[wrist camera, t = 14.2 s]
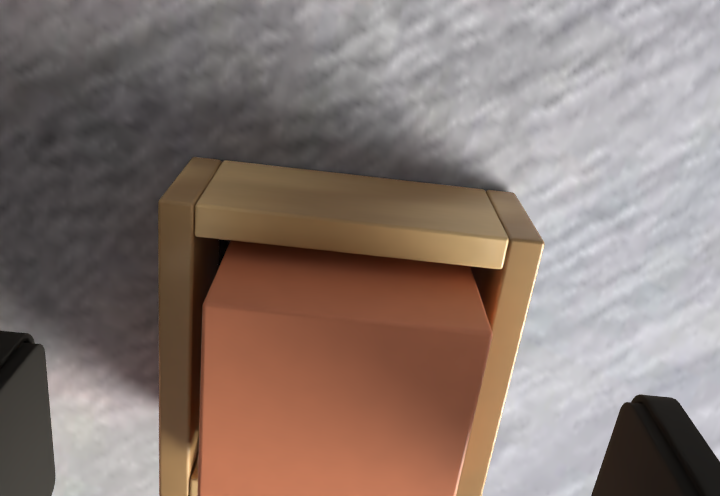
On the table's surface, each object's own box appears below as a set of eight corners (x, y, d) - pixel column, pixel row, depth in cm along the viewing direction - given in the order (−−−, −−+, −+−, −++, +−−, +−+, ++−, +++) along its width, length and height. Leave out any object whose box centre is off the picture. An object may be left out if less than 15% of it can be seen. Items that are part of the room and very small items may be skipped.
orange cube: (459, 230, 14) (494, 332, 10) (426, 406, 16) (445, 546, 12) (244, 206, 14) (201, 302, 10) (234, 386, 16) (196, 523, 12)
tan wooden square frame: (515, 191, 14) (546, 242, 11) (458, 445, 16) (474, 528, 14) (192, 155, 13) (157, 199, 11) (187, 419, 16) (158, 499, 14)
